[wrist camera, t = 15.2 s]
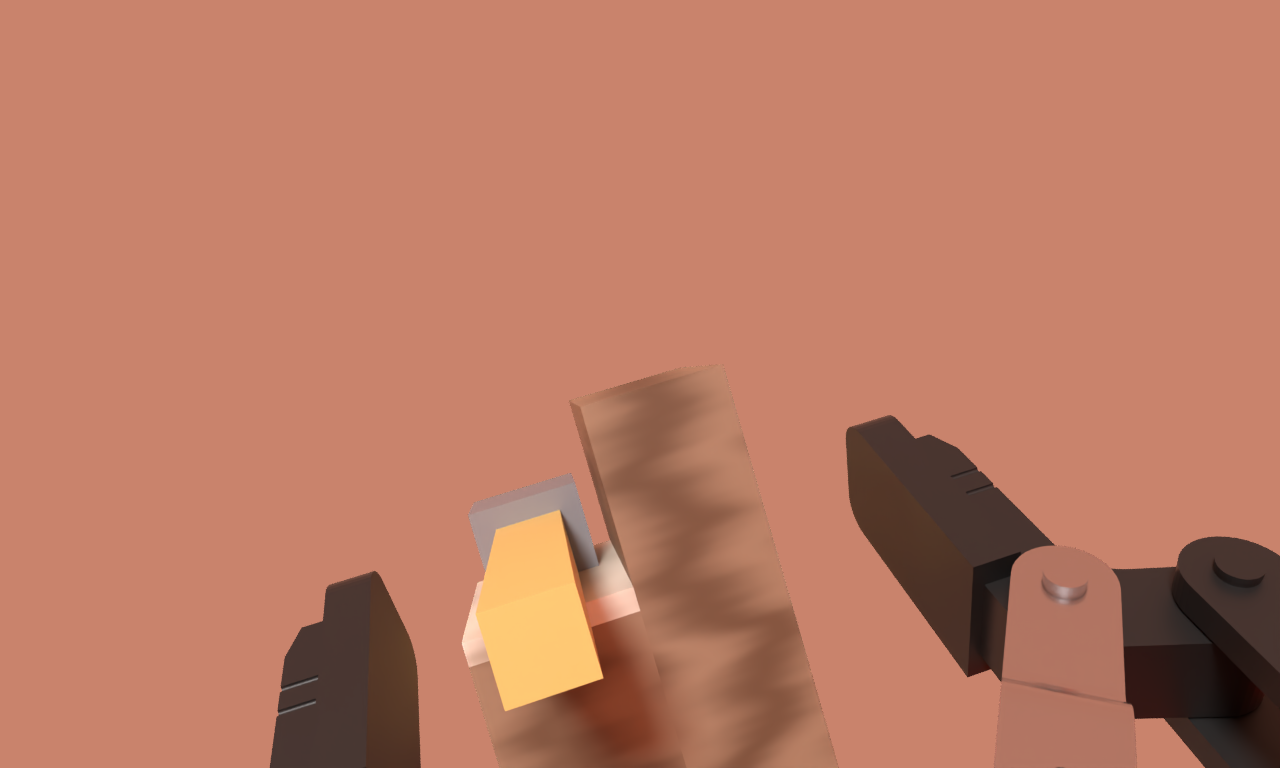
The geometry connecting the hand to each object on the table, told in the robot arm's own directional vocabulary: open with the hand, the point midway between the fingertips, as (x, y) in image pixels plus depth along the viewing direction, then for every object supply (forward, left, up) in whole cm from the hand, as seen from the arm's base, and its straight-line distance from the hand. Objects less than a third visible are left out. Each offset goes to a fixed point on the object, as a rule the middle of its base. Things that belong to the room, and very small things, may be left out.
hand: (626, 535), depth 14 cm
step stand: (0, +25, -31) cm, 40 cm away
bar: (-3, +20, -6) cm, 21 cm away
